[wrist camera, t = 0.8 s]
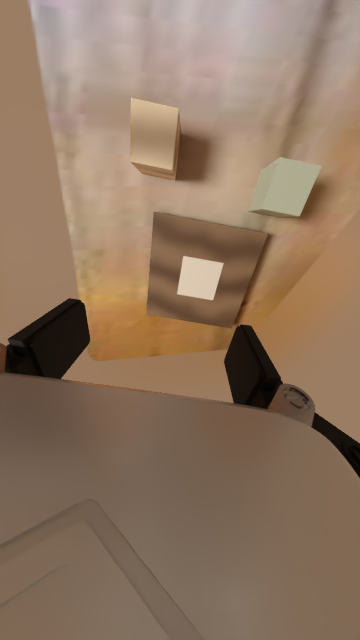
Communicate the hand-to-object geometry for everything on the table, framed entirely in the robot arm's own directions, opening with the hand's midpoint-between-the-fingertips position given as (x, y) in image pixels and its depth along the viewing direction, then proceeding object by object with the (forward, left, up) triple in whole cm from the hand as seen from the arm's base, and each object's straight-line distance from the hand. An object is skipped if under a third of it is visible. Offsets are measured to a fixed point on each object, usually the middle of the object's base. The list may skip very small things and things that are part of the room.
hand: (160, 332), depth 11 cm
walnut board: (+3, +4, -24) cm, 24 cm away
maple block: (-13, -5, -24) cm, 28 cm away
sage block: (-11, +12, -24) cm, 29 cm away
